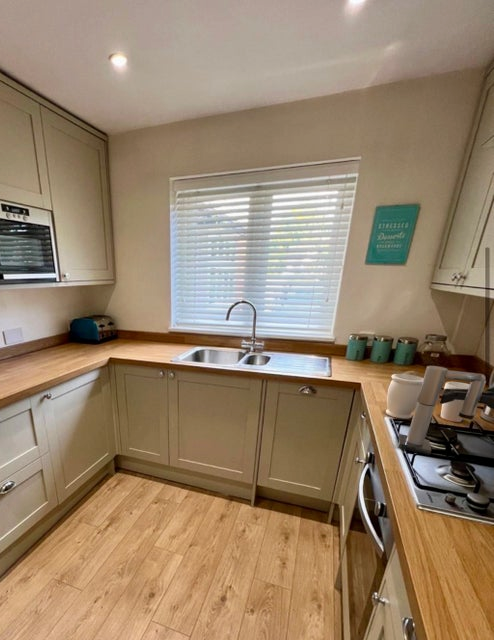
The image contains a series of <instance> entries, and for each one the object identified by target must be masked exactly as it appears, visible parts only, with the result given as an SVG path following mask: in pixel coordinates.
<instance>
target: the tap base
mask: <svg viewBox="0 0 494 640" xmlns="http://www.w3.org/2000/svg"><path fill="white" fill-rule="evenodd" d="M435 408H436V405H426V404H422V403H419V402H417V405H416V408H415V410H414V411H413V415H412V419H411V423H410V425H409V429H408V432H407V434H402V433H399V434H398V438H397V442H398V445H397V446H398V447H397V448H398V449H403V450H406V451H409V452H410V451H411V452H415V453H419V454H424V455H427V456H431V453H432V448H431V442H430V440H429V439H426V437H427V433H428V430H429V428H430V427H429V426H430V424H431V421H432V418H433V415H434V412H435Z"/></svg>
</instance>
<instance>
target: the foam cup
mask: <svg viewBox="0 0 494 640" xmlns="http://www.w3.org/2000/svg"><path fill="white" fill-rule="evenodd" d="M469 386H470V383H466V382H459V381H446V382H445V384H444V387H443V391H444V390H445V389H469ZM464 401H465V400H454V401H451V402H448V403H444V404H441V411H440V418H441V419H443V420H446V421H449V422H454V423H455V422H456V423H460V422H462V420H463V419H464V418H462V417H460V416H459V412H461V409H462V406H463V403H464Z"/></svg>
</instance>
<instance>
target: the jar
mask: <svg viewBox="0 0 494 640" xmlns="http://www.w3.org/2000/svg"><path fill="white" fill-rule="evenodd" d="M421 377H422V376H421ZM421 377H418V376H413V375H407V374H403V373H393V374H391V381H390V383H389V386H388V389H387V395H386V408H387V409H386V410H385V414H386V415H389V417H393V418H397V419H402V420H409V419H411V418H413V415H412V413H414V412H415V409H416V405H417V402H418V401H417V399H418V396H419V392H420V389H421V386H422V382H423V379H424V377H422V378H421Z"/></svg>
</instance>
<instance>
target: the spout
mask: <svg viewBox="0 0 494 640" xmlns="http://www.w3.org/2000/svg"><path fill="white" fill-rule="evenodd" d="M486 378H487V377H486V376H485V374H483V373H477V372H476V373H475V372H468V371H467V372H466V371H459V370H449V369H448V368H446V367H443V366H437V365H426V368H425V373H424V376H423V382H422V386H421V389H420V392H419V396H418V399H417V401H418V402H419V403H422V404H426V405H435V406H437V405H438V402H439V400H440V396H441V393H442V389H443V386H444V383H445V380H455V381H461V382H469V384H470V386H469V389H468V392H467V395H466V398H465V401H464V403H463V406H462V409H461V412H459V416H460V417H462V418H463V419H466V420H474V419H475V416H476V415H475V413H476V411H477V408H478V405H479V403H478V402H479V401H480V397H481V394H482V392H484V389H485V386H486V383H487V380H486Z"/></svg>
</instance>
